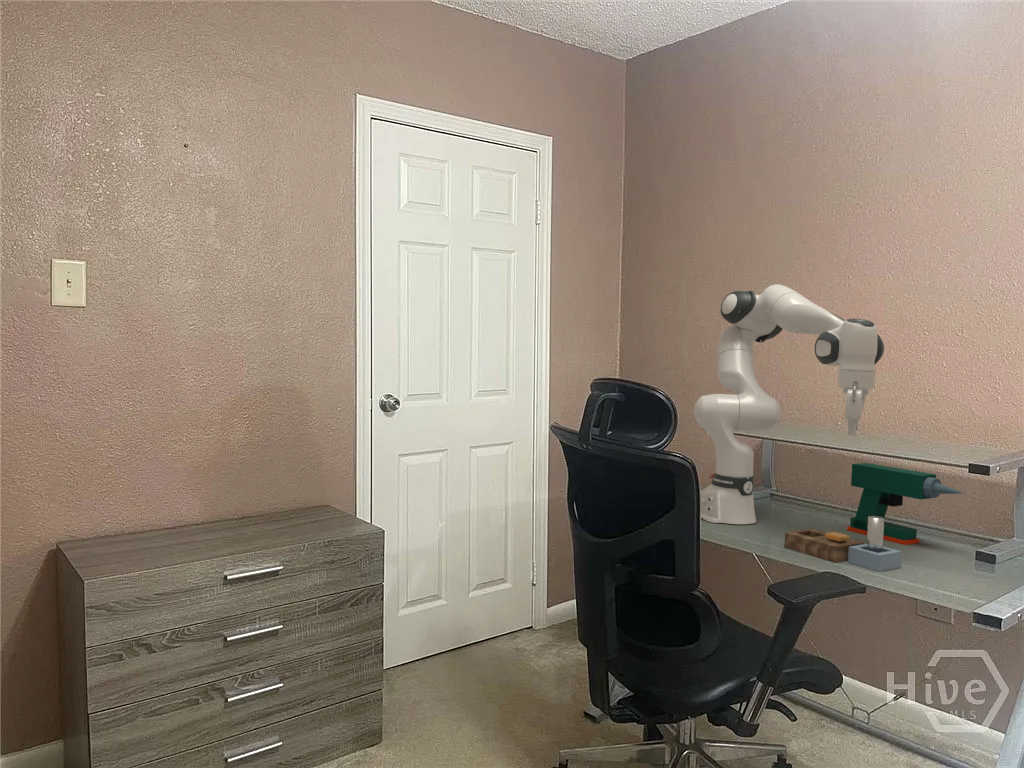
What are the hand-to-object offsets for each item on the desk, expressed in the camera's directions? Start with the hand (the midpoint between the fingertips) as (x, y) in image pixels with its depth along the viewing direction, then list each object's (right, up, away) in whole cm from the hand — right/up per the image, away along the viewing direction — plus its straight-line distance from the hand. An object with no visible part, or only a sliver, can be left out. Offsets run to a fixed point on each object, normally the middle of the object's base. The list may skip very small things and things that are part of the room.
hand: (852, 432), depth 204 cm
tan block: (-6, -31, -4) cm, 32 cm away
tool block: (-8, -32, -1) cm, 33 cm away
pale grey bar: (0, -32, -11) cm, 34 cm away
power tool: (+21, -32, +14) cm, 40 cm away
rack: (0, -32, -11) cm, 34 cm away
